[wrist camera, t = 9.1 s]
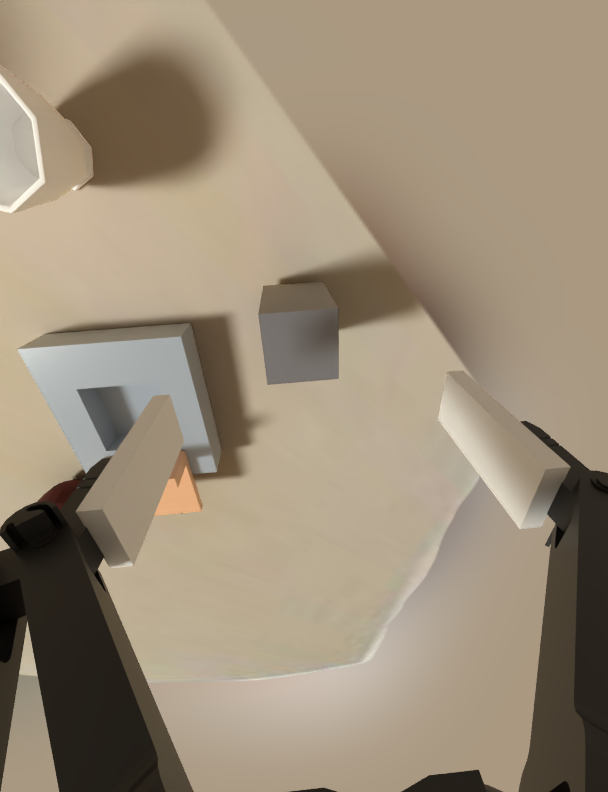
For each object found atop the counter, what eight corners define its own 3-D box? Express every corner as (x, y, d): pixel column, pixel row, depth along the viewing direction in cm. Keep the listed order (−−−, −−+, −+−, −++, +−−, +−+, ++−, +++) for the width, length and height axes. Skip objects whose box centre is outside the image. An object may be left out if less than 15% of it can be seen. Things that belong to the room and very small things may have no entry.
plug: (263, 282, 28) (258, 314, 20) (321, 278, 28) (338, 308, 20) (270, 337, 30) (267, 384, 23) (323, 333, 31) (338, 378, 23)
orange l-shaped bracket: (103, 457, 32) (83, 486, 29) (185, 450, 32) (174, 478, 29) (130, 512, 36) (115, 542, 33) (202, 505, 36) (195, 535, 33)
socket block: (44, 334, 29) (17, 349, 26) (190, 322, 29) (180, 336, 26) (106, 460, 37) (91, 483, 34) (221, 450, 37) (216, 472, 34)
